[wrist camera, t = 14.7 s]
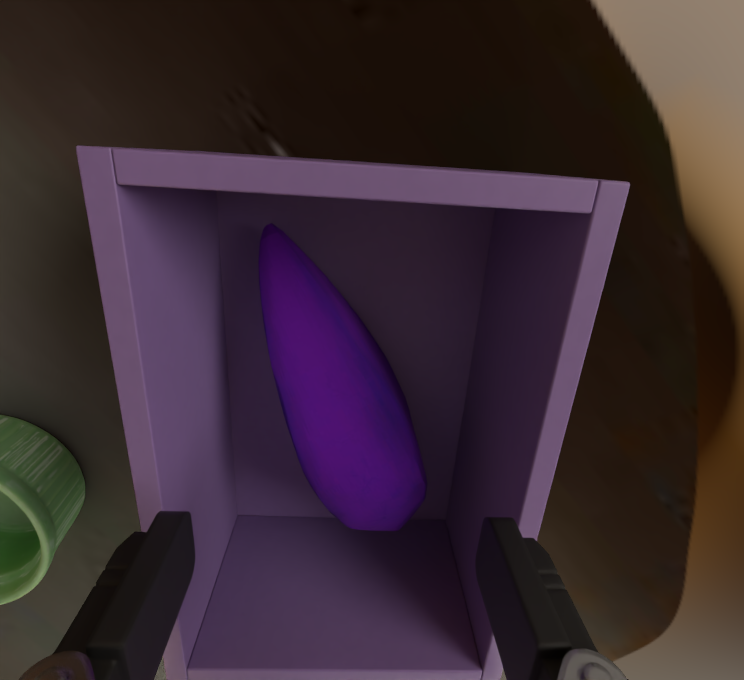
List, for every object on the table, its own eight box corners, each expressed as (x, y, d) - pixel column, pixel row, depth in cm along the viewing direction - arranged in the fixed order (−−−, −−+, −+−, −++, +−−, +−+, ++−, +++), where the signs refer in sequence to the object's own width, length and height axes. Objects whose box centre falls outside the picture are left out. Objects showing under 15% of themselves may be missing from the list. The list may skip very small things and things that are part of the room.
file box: (199, 151, 18) (73, 145, 10) (513, 172, 19) (632, 181, 11) (227, 514, 25) (166, 682, 17) (454, 520, 26) (499, 684, 18)
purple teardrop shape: (314, 200, 15) (459, 550, 19) (328, 202, 19) (442, 481, 23) (185, 254, 15) (353, 584, 19) (229, 243, 20) (357, 510, 24)
